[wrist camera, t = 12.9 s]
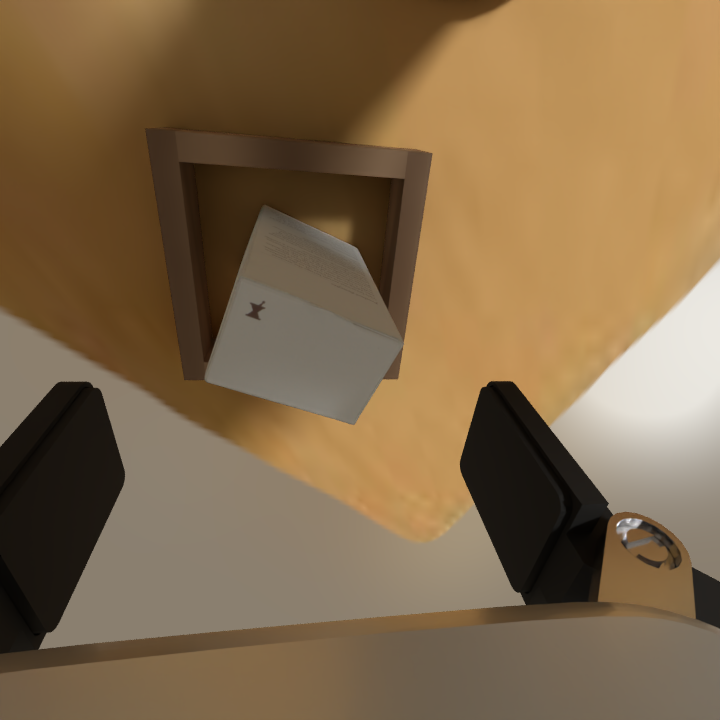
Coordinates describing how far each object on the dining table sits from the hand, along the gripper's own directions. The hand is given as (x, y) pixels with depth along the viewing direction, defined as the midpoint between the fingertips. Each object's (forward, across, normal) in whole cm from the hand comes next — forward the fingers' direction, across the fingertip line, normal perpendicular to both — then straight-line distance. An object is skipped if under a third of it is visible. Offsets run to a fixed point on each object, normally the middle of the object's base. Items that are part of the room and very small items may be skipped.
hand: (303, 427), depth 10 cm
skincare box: (+16, 0, +1) cm, 16 cm away
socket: (+16, 0, +1) cm, 16 cm away
